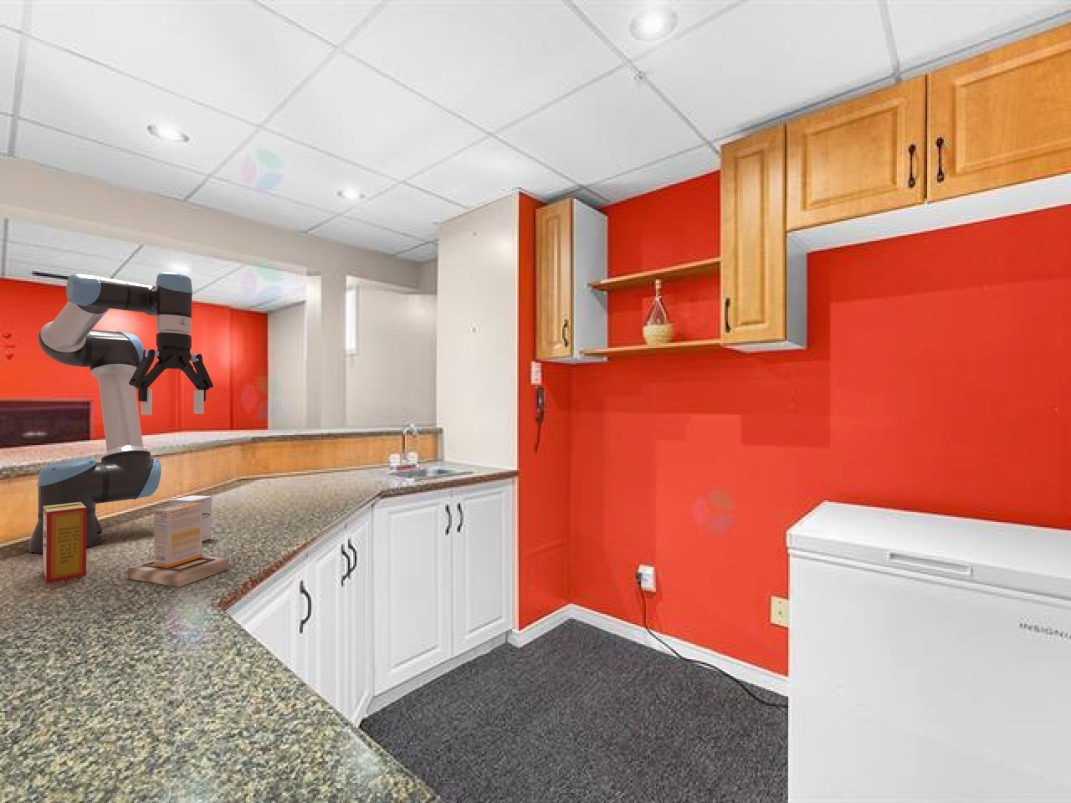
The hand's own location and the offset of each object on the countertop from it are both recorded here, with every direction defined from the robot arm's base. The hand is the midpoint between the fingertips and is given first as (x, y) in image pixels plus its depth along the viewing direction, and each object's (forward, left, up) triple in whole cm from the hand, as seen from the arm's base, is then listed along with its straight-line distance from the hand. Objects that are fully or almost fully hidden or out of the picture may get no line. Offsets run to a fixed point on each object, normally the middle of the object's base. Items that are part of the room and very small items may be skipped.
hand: (173, 414), depth 130 cm
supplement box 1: (-7, +10, -37) cm, 39 cm away
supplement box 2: (+16, -10, -34) cm, 39 cm away
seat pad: (+16, -10, -37) cm, 41 cm away
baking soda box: (-9, -19, -37) cm, 42 cm away
